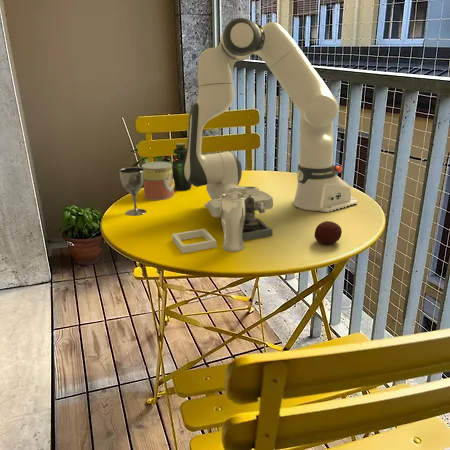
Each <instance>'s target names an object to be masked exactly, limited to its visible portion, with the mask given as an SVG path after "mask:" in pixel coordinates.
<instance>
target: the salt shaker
mask: <svg viewBox="0 0 450 450" xmlns="http://www.w3.org/2000/svg"><path fill="white" fill-rule="evenodd" d="M245 206H246V216H245V223H244V229H243V233H246V232H251V231H257V229H258V225H259V222H260V221H259V220H260V219H259V218H258V219H259V220H258V219H257V218H256V211H255V210H256V209H255V208H254V198H252V197H250V195H249V197H248V198H246V199H245Z"/></svg>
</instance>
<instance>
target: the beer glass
mask: <svg viewBox="0 0 450 450" xmlns="http://www.w3.org/2000/svg"><path fill="white" fill-rule="evenodd" d="M220 197H221V199H220V217H219V218H220V221H221V226H222V232H223V242H222V249H223V250H224V251H226V252H230V253H231V252H232V253H233V252H240V251H242V250H244V248H245V241H243V230H244V223H245V216H246V206H245V196H244V195H243V194H241V193H226V194H223V195H221V196H220Z"/></svg>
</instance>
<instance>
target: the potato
mask: <svg viewBox="0 0 450 450" xmlns="http://www.w3.org/2000/svg"><path fill="white" fill-rule="evenodd" d="M342 232H343V231H342V228H341V226H340V225H339V224H338V223H336V222H334V221H330V220H329V221H328V220H326V221H322V222H321V223H319V224H318V225H317V226H316V228H315V230H314V239H315V240H316V242H318V243H320V244H325V245H330V244H335V243H336V242H338V241H339V240H340V239H341V236H342V235H343V233H342Z"/></svg>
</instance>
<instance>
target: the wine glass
mask: <svg viewBox="0 0 450 450" xmlns="http://www.w3.org/2000/svg"><path fill="white" fill-rule="evenodd" d="M119 178H120V181H121V184H122V187H123V188H124V189H125V191H127V192H128V193H129V194H130V195H131V197H132V202H133V206H134V208H132V209H129V210H126V211H125V215H126V216H131V217H136V216H141V215H144V214H146V213H147V210H146V209H144V208H138V206H137V196H138V194H139V192H140V191H141V189H142V188H143V187H144V169H143V168H142V166H141V167H140V166H131V167H130V166H128V167H123V168H121V169H119Z"/></svg>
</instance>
